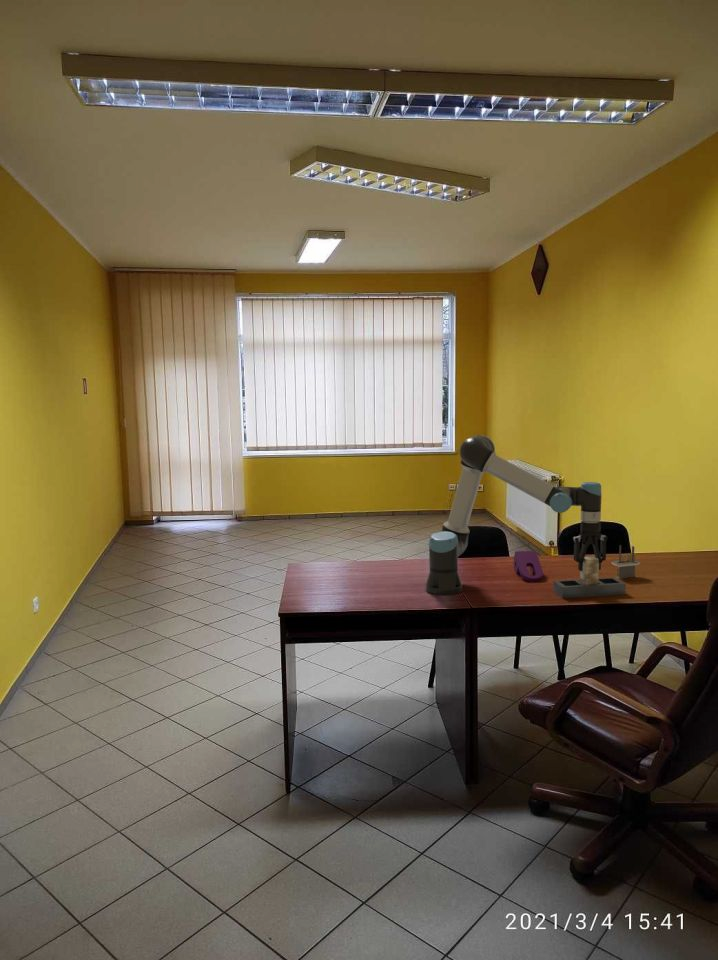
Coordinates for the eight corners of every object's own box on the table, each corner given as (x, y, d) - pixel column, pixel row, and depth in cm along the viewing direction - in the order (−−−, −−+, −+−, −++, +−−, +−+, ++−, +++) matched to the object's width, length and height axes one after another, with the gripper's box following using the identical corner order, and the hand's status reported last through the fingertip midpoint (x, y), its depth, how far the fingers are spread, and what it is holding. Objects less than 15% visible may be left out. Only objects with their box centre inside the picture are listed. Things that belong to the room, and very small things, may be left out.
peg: (585, 589, 263) (586, 560, 261) (580, 585, 268) (581, 556, 266) (597, 588, 263) (598, 559, 261) (592, 584, 268) (592, 556, 266)
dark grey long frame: (562, 598, 260) (562, 587, 259) (553, 591, 269) (553, 580, 268) (625, 594, 262) (625, 583, 262) (614, 587, 271) (614, 577, 271)
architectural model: (584, 575, 292) (585, 544, 290) (630, 568, 300) (631, 538, 298) (618, 588, 272) (619, 555, 270) (666, 580, 281) (667, 548, 279)
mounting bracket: (542, 592, 287) (533, 565, 302) (545, 578, 282) (536, 550, 297) (520, 593, 287) (513, 565, 302) (522, 578, 282) (514, 551, 297)
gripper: (572, 524, 257) (571, 582, 260) (616, 522, 259) (615, 579, 262) (564, 520, 264) (563, 576, 268) (607, 518, 266) (606, 574, 269)
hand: (589, 578), depth 265 cm, fingers closed on peg, 5 cm apart
